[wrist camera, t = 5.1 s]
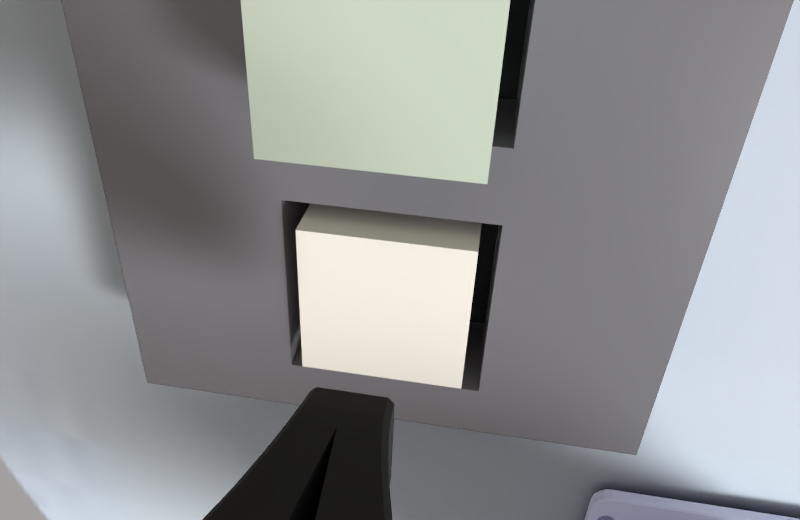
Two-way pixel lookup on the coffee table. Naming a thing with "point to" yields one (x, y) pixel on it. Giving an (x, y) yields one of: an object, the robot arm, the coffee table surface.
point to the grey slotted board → (436, 207)
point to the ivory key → (386, 293)
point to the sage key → (376, 83)
